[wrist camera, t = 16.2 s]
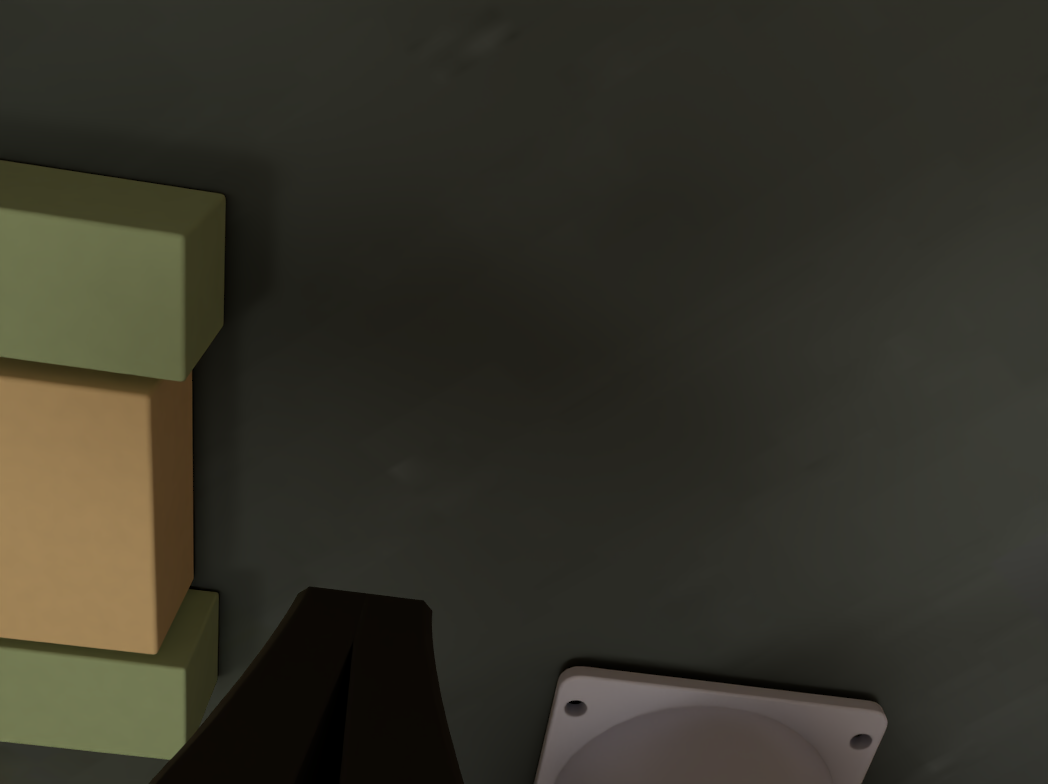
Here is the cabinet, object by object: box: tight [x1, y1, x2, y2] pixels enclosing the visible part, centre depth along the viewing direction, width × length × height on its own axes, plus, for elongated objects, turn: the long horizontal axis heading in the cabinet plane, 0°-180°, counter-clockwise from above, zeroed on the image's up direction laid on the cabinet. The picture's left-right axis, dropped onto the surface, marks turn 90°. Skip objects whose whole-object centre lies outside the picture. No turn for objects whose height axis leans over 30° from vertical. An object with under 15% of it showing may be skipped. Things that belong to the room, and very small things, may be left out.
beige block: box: [0, 357, 194, 655], centre depth 19 cm, size 6×5×2 cm
